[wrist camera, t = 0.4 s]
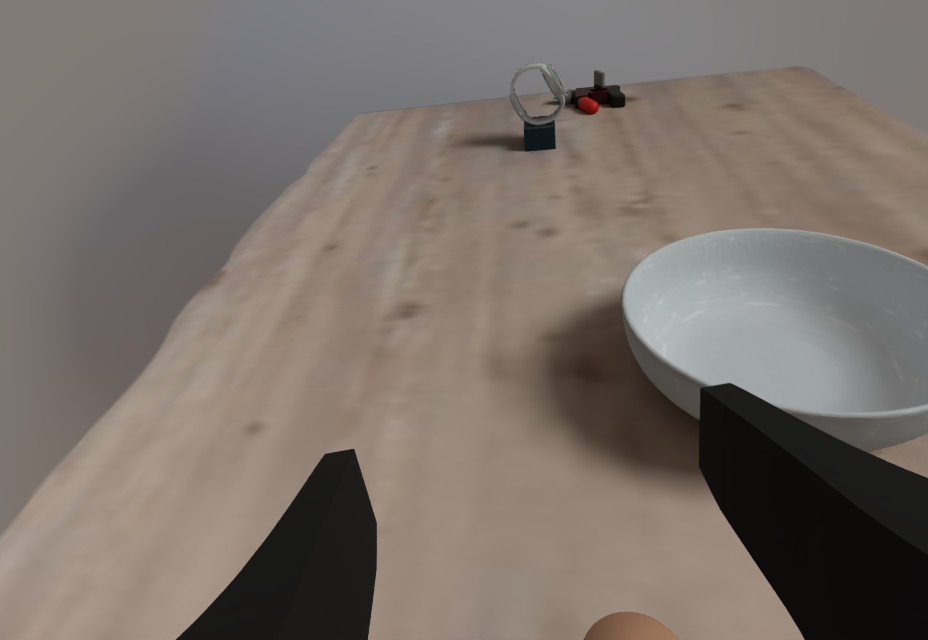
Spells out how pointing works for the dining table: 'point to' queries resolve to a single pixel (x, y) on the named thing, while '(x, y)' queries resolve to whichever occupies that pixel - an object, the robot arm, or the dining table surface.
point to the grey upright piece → (540, 128)
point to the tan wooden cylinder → (629, 628)
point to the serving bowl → (788, 328)
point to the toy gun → (595, 95)
